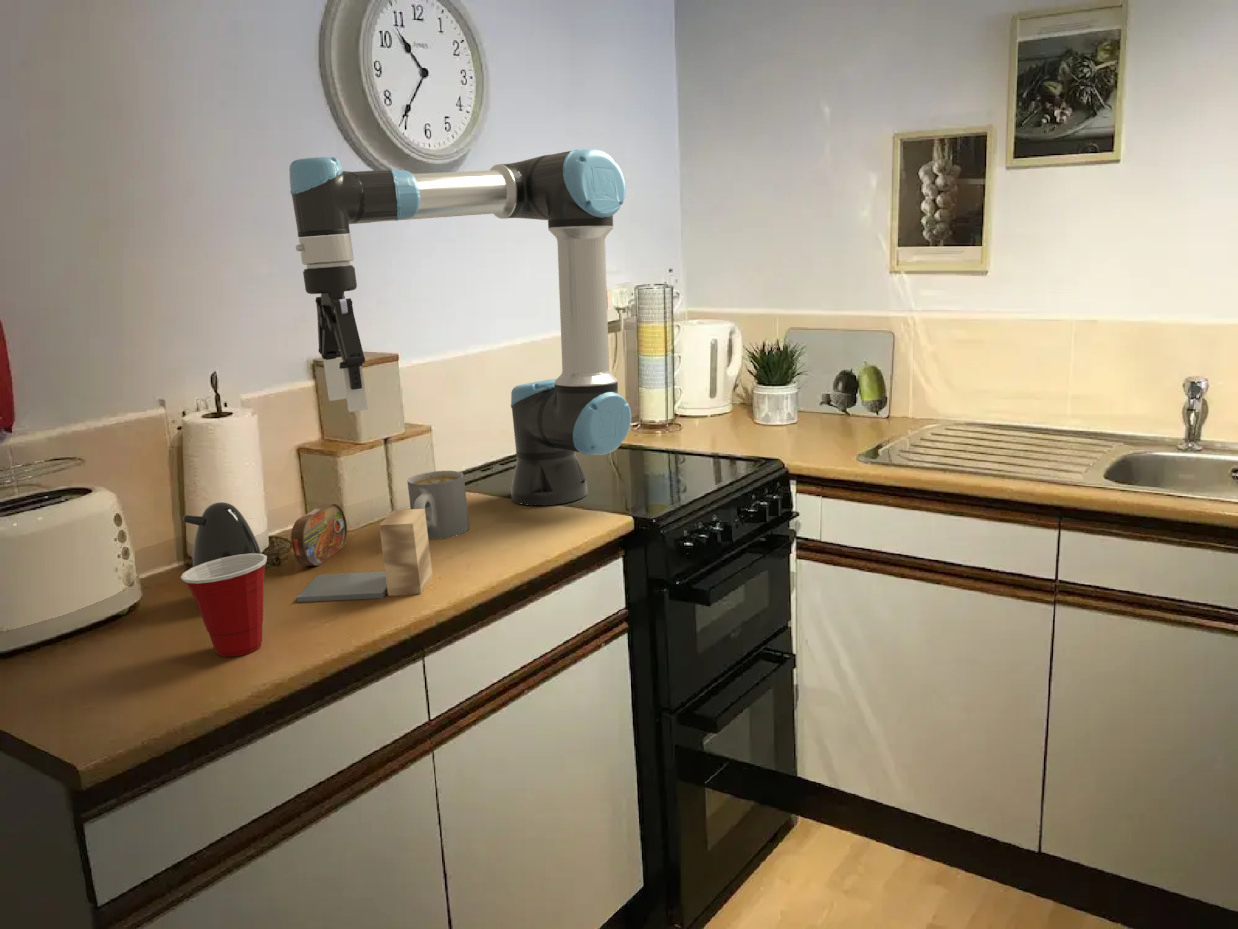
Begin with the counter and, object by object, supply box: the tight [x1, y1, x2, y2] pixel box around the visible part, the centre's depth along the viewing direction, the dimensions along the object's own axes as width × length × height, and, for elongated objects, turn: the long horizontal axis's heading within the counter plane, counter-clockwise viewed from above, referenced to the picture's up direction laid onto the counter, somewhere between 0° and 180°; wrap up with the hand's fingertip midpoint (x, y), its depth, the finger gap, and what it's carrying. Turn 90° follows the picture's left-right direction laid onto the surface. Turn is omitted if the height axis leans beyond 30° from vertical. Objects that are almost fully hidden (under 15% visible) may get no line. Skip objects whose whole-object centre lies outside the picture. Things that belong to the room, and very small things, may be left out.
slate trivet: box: [296, 570, 388, 603], centre depth 158 cm, size 13×10×1 cm
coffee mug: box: [407, 470, 470, 540], centre depth 183 cm, size 13×10×10 cm
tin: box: [290, 503, 348, 567], centre depth 174 cm, size 15×3×8 cm, turn 168°
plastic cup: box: [180, 553, 268, 658], centre depth 136 cm, size 11×11×12 cm
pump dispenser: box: [182, 501, 266, 571], centre depth 156 cm, size 10×10×15 cm
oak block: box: [378, 508, 433, 597], centre depth 157 cm, size 5×8×11 cm, turn 178°
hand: (347, 405), depth 159 cm, fingers open, 13 cm apart
